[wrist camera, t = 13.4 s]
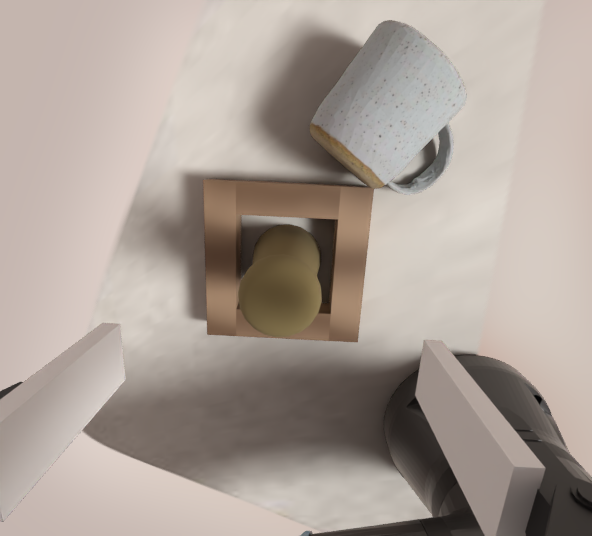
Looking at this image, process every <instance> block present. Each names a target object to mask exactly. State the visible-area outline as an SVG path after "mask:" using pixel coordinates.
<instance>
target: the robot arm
mask: <svg viewBox="0 0 592 536" xmlns="http://www.w3.org/2000/svg"><path fill="white" fill-rule="evenodd" d="M125 380H126V379H125V368H124V358H123V348H122V338H121V327H120V324H113V323H102V324H101V325H99V326H98V327H97V328H95V329H94V330H92V331H91V332H90V333H88V334H87V335H86V336H84V337H83V338H82V339H81V340H79V341H78V342H77V343H75V344H74V345H72V346H71V347H70V348H68V349H67V350H66V351H65V352H63V353H62V354H61V355H59V356H58V357H56V358H55V359H54V360H52V361H51V362H50V363H48V364H47V365H46V366H44V367H43V368H42V369H41V370H39V371H38V372H36V373H35V374H34V375H32V376H31V377H30V378H28V379H27V380H26V381H24V382H19V383H17V384H15V385H13V386H11V387H8V388H6V389H4V390H2V391H0V521H1V522H3V521H4V520H5V519H6V518H7V517H8V516H9V514H10V513H11V512H12V511H13V510H14V509H15V507H16V506H17V505H18V504H19V503H20V502H21V501H22V499H23V498H24V497H25V496H26V495H27V494H28V492H29V491H30V490H31V489H32V488H33V487H34V485H35V484H36V483H37V482H38V481H39V480H40V479H41V477H42V476H43V475H44V474H45V473H46V471H47V470H48V469H49V468H50V467H51V466H52V465H53V463H54V462H55V461H56V460H57V459H58V458H59V456H60V455H61V454H62V453H63V452H64V451H65V449H66V448H67V447H68V446H69V445H70V444H71V443H72V441H73V440H74V439H75V438H76V437H77V435H78V434H79V433H80V432H81V431H82V430H83V429H84V427H85V426H86V425H87V424H88V423H89V422H90V420H91V419H92V418H93V417H94V416H95V415H96V413H97V412H98V411H99V410H100V409H101V408H102V406H103V405H104V404H105V403H106V402H107V401H108V400H109V398H110V397H111V396H112V395H113V394H114V393H115V391H116V390H117V389H118V388H119V387H120V386H121V384H122V383H123V382H124V381H125ZM384 433H385V438H386V442H387V445H388V448H389V451H390V455H391V457H392V460H393V462H394V464H395V466H396V468H397V469H398V471H399V472H400V474H401V475H402V476H403V477H404V478H405V479H406V481H407V482H408V484H409V485H410V486H411V488H412V489H413V490H414V492H415V493H416V494H417V496H418V497H419V498H420V500H421V501H422V502H423V504H424V505H425V506H426V508H427V509H428V510H429V511H430V513H431V514H432V516H433V518H426V519H417V520H410V521H403V522H396V523H390V524H383V525H376V526H368V527H361V528H354V529H346V530H339V531H331V532H324V533H317V534H312V531H305V532H304V533H303V534H302V535H301V536H592V477H591V476H590V475H589V474H588V473H587V472H586V471H585V470H584V468H583V467H582V466H581V465H580V464H579V463H578V462H577V461H576V460H575V459H574V458H573V457H572V455H571V454H570V452H569V450H568V448H567V446H566V444H565V442H564V439H563V437H562V435H561V433H560V431H559V429H558V427H557V424H556V423H555V421H554V419H553V417H552V415H551V412H550V409H549V408H548V406H547V403H546V401H545V400H544V398H543V397H542V395H541V394H540V392H539V391H538V390H537V389H536V388H535V387H534V386H533V385H532V384H531V383H530V382H529V381H528V380H527V379H526V378H525V377H524V376H523V375H522V374H521V373H519V372H518V371H517V370H516V369H514V368H513V367H511V366H510V365H508V364H506V363H504V362H502V361H499V360H496V359H493V358H489V357H484V356H476V355H462V356H454V355H453V354H452V353H451V351H450V350H449V349H448V348H447V346H446V345H445V344H444V343H443V342H442V341H436V340H424V343H423V349H422V355H421V362H420V368H419V370H418V371H416V372H415V373H413V374H412V375H411V376H410V377H408V378H407V379H406V380H405V381H404V382H403V383H402V384H401V385H400V386H399V388H398V389H397V390H396V391H395V393H394V394H393V396H392V398H391V400H390V402H389V404H388V407H387V409H386V413H385V418H384Z"/></svg>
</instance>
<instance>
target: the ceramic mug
mask: <svg viewBox="0 0 592 536" xmlns="http://www.w3.org/2000/svg"><path fill="white" fill-rule="evenodd" d="M466 98H467V94H466V89H465V86H464V82H463V81H462V79H461V77H460V75H459V73H458V71H457V70H456V68H455V67H454V65H453V64H452V62H451V61H450V60H449V59H448V58H447V56H446V55H445V54H444V53H443V52H442V51H441V50H440V49H439V48H438V47H437V46H436V45H435V44H434V43H432V42H431V41H430V40H429V39H428V38H427V37H425V36H424V35H423V34H422V33H420V32H419V31H418V30H416V29H415V28H413V27H411V26H409V25H407V24H405V23H401V22H397V21H392V20H388V21H384V22H382V23H380V24H379V25H378V26H377V27H376V29H375V30H374V32H373V33H372V34H371V36H370V37H369V38H368V40H367V41H366V43H365V44H364V46H363V47H362V48H361V50H360V51H359V52H358V54H357V55H356V56H355V58H354V59H353V61H352V62H351V63H350V65H349V66H348V67H347V69H346V70H345V72H344V73H343V75H342V76H341V78H340V79H339V80H338V82H337V83H336V84H335V86H334V87H333V88H332V90H331V91H330V92H329V94H328V95H327V96H326V97H325V99H324V100H323V102H322V103H321V104H320V106H319V107H318V109H317V111H316V113H315V115H314V117H313V119H312V121H311V123H310V134H311V136H312V137H313V139H314V140H315V141H316V142H317V143H319V144H320V145H321V146H322V147H323V148H324V149H325V150H326V151H327V152H328V153H329V154H331V155H332V156H333V157H334V158H335V159H336V160H337V161H338V162H340V163H341V164H342V165H343V166H344V167H345V168H347V169H348V170H349V171H350V172H351V173H352V174H354V175H355V176H356V177H357V178H358V179H359V180H361V181H362V182H363V183H365V184H366V185H367V186H368V187H370V188H373V189H375V188H381V187H383V186H384V185H386V186H388V187H389V188H391V189H392V190H394V191H396V192H398V193H402V194H405V195H410V194H416V193H420V192H422V191H424V190H426V189H427V188H429V187H430V186H432V185H433V184H434V183H435V182H436V181H437V180H438V179H439V178H440V177H441V176H442V175H443V174H444V172H445V171H446V169H447V168H448V166H449V164H450V162H451V159H452V154H453V145H454V141H453V134H452V131H451V128H450V125H449V121H450V120H451V119H452V118H453V117H454V116H455V115H456V114H457V113H458V112H459V111H460V110H461V108H462V107H463V106H464V105H465V103H466ZM437 133H438V134H439V140H440V143H439V150H438V154H437V157H436V158H435V160H434V162H433V163H432V164H431V165H430V166H429V167H428V168H427V169H426V170H425V171H424V172H423V173H422V174H421V175H419V176H418V177H416V178H414V179H413V181H412V182H411V183H409V184H406V185H397V184H395V183H393V182H392V181H391V180H392V179H394V178H395V177H396V176H397V175H398V174H399V173H400V172H401V171H402V170H403V169H404V168H405V167H406V166H407V165H408V163H409V162H410V161H411V160H412V159H413V158H414V157H415V156H416V154H417V153H418V152H419V151H420V150H421V149H422V148H423V147H424V146H425V145H426V144H427V143H428V142H429V141H430V140H431V139H432V138H433V137H434V136H435V135H436V134H437Z"/></svg>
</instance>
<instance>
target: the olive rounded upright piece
mask: <svg viewBox="0 0 592 536" xmlns="http://www.w3.org/2000/svg"><path fill="white" fill-rule="evenodd" d="M320 263H321V252H320V249H319V246H318V244H317V241H316V240H315V239H314V238H313V236H312V235H311V234H310V233H309V232H307V231H306V230H304V229H302V228H301V227H298V226H294V225H290V224H289V225H278V226H276V227H273V228H271V229H268V230H267V231H266V232H265V233H264V234H263V235H261V236H260V238H259V239H258V241H257V243H256V245H255V248H254V252H253V262H252V266H251V267H249V268H248V270H247V272H246V273H245V275H244V277H243V278H242V280H241V282H240V286H239V291H238V298H239V305H240V310H241V312H242V314H243V316H244V318H245V320H246V321H247V322H248V323H249V324H250V325H251V326H252V327H253V328H254V329H256V330H257V331H259V332H261V333H263V334H265V335H269V336H273V337H289V336H292V335H295V334H297V333H300V332H302V331H303V330H304V329H306V328H307V327H308V326H309V325H310V324H311V323H312V322H313V320H314V319H315V317H316V316H317V314H318V312H319V309H320V305H321V302H322V296H321V286H320V283H319V281H318V278H317V274H318V271H319V267H320Z"/></svg>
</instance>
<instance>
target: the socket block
mask: <svg viewBox="0 0 592 536" xmlns="http://www.w3.org/2000/svg"><path fill="white" fill-rule="evenodd" d="M373 192H374V189H373V188H370V187H368V186H349V185H328V184H307V183H286V182H266V181H245V180H224V179H207V180H203V194H204V230H205V265H206V301H207V335H226V336H246V337H265V338H285V339H304V340H324V341H343V342H358V333H359V324H360V314H361V305H362V295H363V286H364V276H365V267H366V258H367V248H368V239H369V229H370V220H371V210H372V201H373ZM241 215H258V216H278V217H299V218H319V219H335V228H334V241H333V253H332V266H331V279H330V292H329V303H321V305H320V309H319V312H318V314H317V316H316V317H315V319H314V320H313V322H312V323H311V324H310V325H309V326H308V327H307V328H306V329H304V330H303V331H302V332H300V333H297V334H295V335H292V336H289V337H273V336H269V335H265V334H263V333H261V332H259V331H257V330H256V329H254V328H253V327H252V326H251V325H250V324H249V323H248V322H247V321H246V320H245V318H244V316H243V314H242V312H241V310H240V305H239V298H238V291H239V286H240V282H241Z"/></svg>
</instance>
